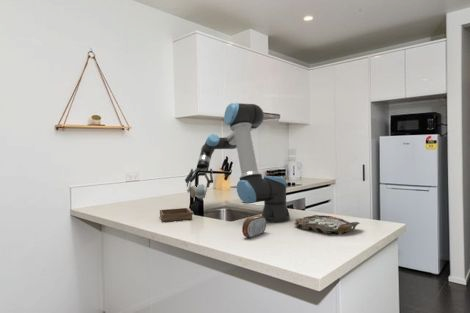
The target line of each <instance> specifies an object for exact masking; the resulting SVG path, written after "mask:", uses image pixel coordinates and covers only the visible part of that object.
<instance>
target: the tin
mask: <svg viewBox="0 0 470 313" xmlns="http://www.w3.org/2000/svg"><path fill="white" fill-rule="evenodd" d="M241 228H242V230H241V232H242V234H243V236H244V237H245V238H249V239H252V238H255V237H257V236H256V235H258V236H260V235H259V234H261V235H262V233H263V234H264V233H265V231H266V230H267V229H266V228H267V222H266V219H265V217H263V216H261V215H259V214H258V215H254V216H250V217H247V218H246V219H245V220H244V222H243V225H242V227H241ZM254 236H255V237H254ZM251 237H252V238H251Z"/></svg>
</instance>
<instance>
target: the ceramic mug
mask: <svg viewBox="0 0 470 313" xmlns="http://www.w3.org/2000/svg"><path fill="white" fill-rule="evenodd" d="M196 185H197V187H196V186H195V185H191V187H190V191H189V195H190V197H191V198H193V199H195V197H197V198H198V199H199V200H200V199H205V198H206V195H207V192H206V193H205V191H204V188H205V184H202V183H201V184H196ZM197 198H196V199H197Z"/></svg>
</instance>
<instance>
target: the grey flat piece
mask: <svg viewBox="0 0 470 313" xmlns="http://www.w3.org/2000/svg"><path fill="white" fill-rule="evenodd" d="M294 221H295V222H294V223H293V225H295V226H297V227H298V228H301V229H303V230H307V229H310V230H313V231H314V232H316V231H317V232H320V230H322V233H323V234H325V233H327V234H326V235H328V234H331V233H330V232H335V234H337V235H342V233H343V234H344V233H349V232H350V231H351V230H355V229H356V227H357V226H358V225H360V224H361V223H360V222H358V221H353V222H350V221H348V220H345V219H343V218H340V217H336V216H333V215H332V216H330V215H320V214H319V215H318V214H313V215H308V216H304V217H300V218H299V217H298V218H296V219H294ZM311 228H312V229H311Z"/></svg>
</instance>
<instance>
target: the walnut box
mask: <svg viewBox="0 0 470 313" xmlns="http://www.w3.org/2000/svg"><path fill="white" fill-rule="evenodd" d="M159 217H160V220H161V222H162V223H163V222H165V223H174V221H176V222H184V221H183V220H188V221H193V212H192V211H191V210H190V209H189V208H187V207H183V208H182V207H181V208H169V209H168V208H167V209H159Z"/></svg>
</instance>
